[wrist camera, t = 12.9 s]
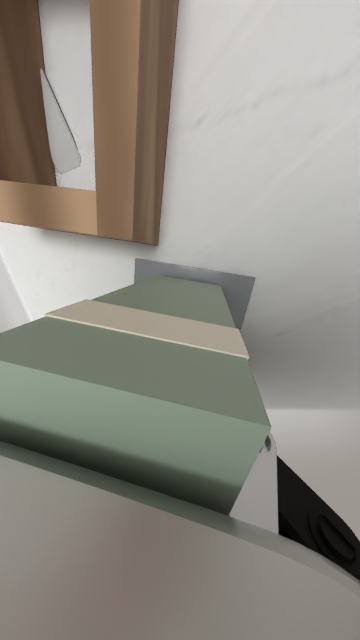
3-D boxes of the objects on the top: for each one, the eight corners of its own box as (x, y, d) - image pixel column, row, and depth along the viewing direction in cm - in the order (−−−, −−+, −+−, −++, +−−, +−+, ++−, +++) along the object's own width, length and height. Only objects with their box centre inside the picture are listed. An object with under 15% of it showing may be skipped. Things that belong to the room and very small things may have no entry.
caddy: (184, -73, 9) (155, -418, 4) (157, 245, 15) (132, 240, 10) (-2, -59, 10) (-174, -312, 6) (39, 228, 16) (-32, 216, 11)
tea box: (221, 285, 13) (276, 425, 2) (201, 370, 16) (183, 611, 5) (158, 274, 14) (-48, 346, 3) (150, 358, 17) (34, 556, 6)
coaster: (253, 277, 14) (255, 277, 14) (225, 375, 18) (225, 379, 17) (138, 258, 15) (135, 258, 15) (133, 354, 19) (131, 357, 18)
